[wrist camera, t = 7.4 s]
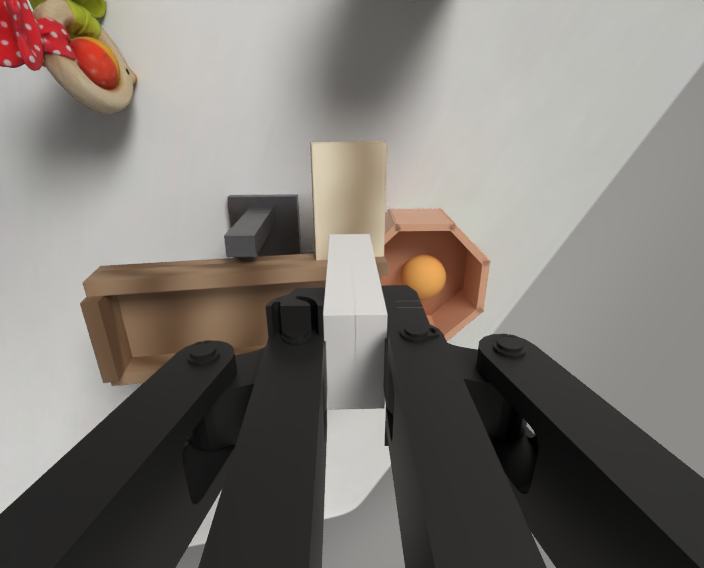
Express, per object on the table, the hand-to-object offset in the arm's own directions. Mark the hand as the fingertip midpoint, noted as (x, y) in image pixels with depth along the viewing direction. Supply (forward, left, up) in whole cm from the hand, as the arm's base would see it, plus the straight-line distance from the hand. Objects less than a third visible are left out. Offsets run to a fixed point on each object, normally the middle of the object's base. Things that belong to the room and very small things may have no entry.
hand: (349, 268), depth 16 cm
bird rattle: (-20, -6, -22) cm, 30 cm away
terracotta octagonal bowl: (+10, -2, -22) cm, 25 cm away
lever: (-2, -9, -17) cm, 19 cm away
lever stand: (+1, -11, -22) cm, 25 cm away
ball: (+11, -1, -20) cm, 22 cm away
